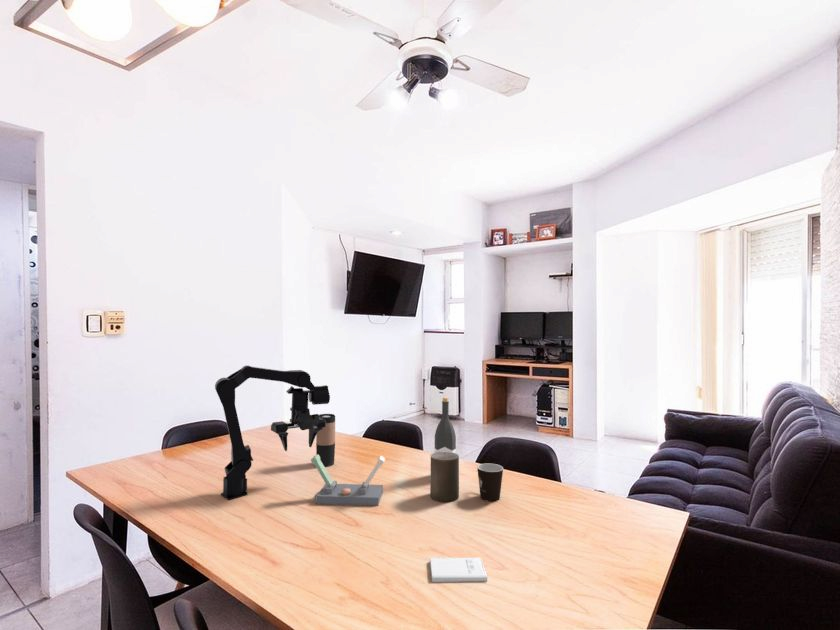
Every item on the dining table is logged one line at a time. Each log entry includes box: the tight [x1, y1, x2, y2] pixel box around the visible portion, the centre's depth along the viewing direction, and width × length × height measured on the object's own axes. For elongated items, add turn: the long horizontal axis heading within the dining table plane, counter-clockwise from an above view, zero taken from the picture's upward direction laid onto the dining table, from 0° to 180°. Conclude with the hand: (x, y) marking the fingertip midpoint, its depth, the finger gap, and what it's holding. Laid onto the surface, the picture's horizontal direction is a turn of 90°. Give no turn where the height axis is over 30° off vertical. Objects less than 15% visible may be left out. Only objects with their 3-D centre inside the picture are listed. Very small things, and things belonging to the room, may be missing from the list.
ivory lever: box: [361, 455, 386, 489], centre depth 141 cm, size 2×4×12 cm
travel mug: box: [315, 413, 336, 468], centre depth 176 cm, size 8×8×20 cm
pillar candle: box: [429, 452, 460, 503], centre depth 143 cm, size 10×10×15 cm
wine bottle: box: [434, 396, 457, 454], centre depth 162 cm, size 8×8×30 cm
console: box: [315, 480, 384, 507], centre depth 141 cm, size 20×11×4 cm, turn 88°
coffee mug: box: [476, 462, 504, 503], centre depth 144 cm, size 12×9×10 cm
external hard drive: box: [429, 557, 488, 583], centre depth 99 cm, size 2×8×12 cm
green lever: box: [310, 454, 336, 489], centre depth 141 cm, size 2×4×12 cm
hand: (298, 448), depth 153 cm, fingers open, 9 cm apart
